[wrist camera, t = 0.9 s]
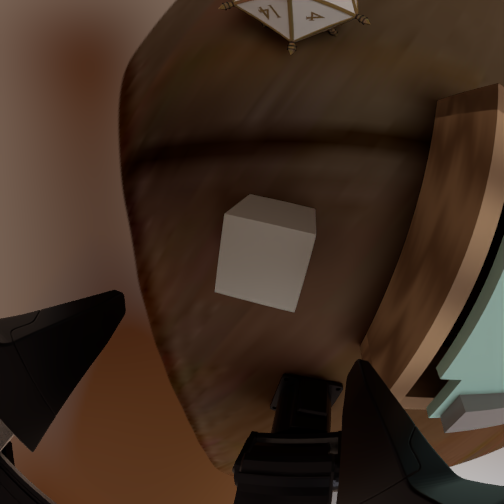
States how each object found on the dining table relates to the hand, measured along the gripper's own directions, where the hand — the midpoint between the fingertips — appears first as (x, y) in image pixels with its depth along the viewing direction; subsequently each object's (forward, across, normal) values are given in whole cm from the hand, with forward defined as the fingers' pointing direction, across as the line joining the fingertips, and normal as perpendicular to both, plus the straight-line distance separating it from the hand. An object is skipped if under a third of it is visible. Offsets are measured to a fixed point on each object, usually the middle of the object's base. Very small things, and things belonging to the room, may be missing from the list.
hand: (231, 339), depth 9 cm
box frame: (+12, -19, -2) cm, 23 cm away
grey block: (+12, 0, 0) cm, 12 cm away
